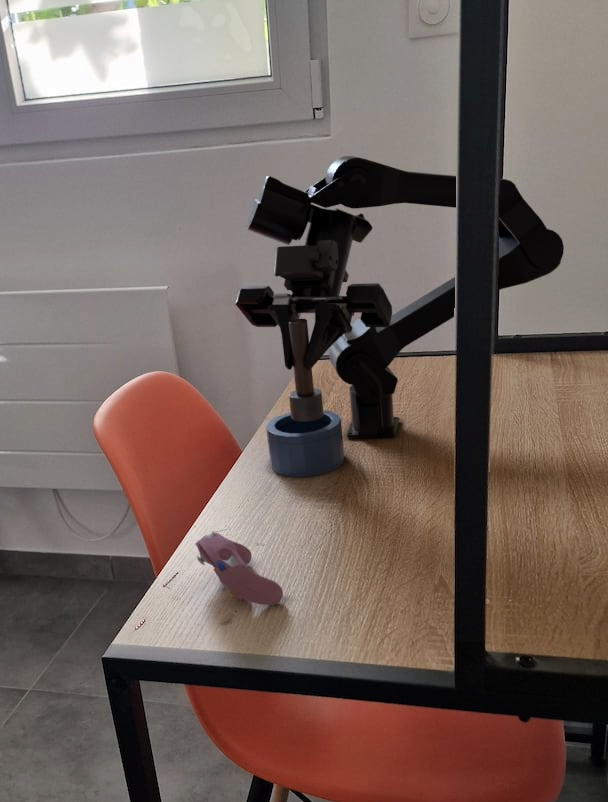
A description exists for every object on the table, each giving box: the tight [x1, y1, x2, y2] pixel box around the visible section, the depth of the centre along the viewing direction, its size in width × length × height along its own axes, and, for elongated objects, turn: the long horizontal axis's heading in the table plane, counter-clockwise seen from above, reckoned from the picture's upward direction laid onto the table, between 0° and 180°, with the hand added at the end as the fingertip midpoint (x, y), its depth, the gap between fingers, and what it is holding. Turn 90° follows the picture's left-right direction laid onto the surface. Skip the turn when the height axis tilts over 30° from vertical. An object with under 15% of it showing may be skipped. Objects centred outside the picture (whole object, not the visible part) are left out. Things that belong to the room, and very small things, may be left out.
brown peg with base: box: [288, 318, 324, 422], centre depth 100 cm, size 4×4×12 cm
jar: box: [265, 409, 345, 478], centre depth 106 cm, size 9×9×6 cm
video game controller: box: [195, 530, 284, 606], centre depth 79 cm, size 10×5×7 cm, turn 21°
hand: (297, 368), depth 98 cm, fingers closed on brown peg with base, 2 cm apart
